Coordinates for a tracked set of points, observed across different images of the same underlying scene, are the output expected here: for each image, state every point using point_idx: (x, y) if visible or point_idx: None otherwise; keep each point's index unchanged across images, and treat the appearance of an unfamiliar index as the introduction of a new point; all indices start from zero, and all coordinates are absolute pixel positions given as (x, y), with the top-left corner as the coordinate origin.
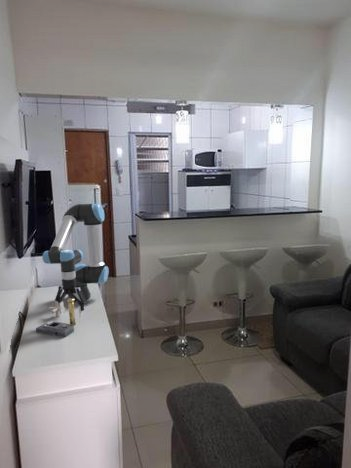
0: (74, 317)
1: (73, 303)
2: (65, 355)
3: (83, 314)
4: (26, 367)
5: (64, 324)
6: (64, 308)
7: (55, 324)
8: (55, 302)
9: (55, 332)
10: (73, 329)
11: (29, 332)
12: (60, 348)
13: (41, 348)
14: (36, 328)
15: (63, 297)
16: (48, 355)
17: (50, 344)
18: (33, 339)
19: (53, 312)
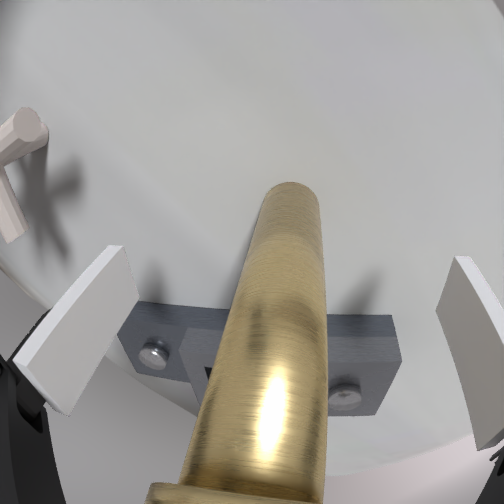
0: (322, 248)
1: (325, 449)
2: (434, 433)
3: (475, 266)
4: (346, 471)
5: (337, 398)
6: (20, 129)
7: None
8: None
9: None
10: (394, 333)
11: (127, 363)
12: (398, 424)
13: None
14: (141, 372)
15: (40, 493)
16: (375, 447)
17: (335, 420)
18: None
19: (24, 231)
